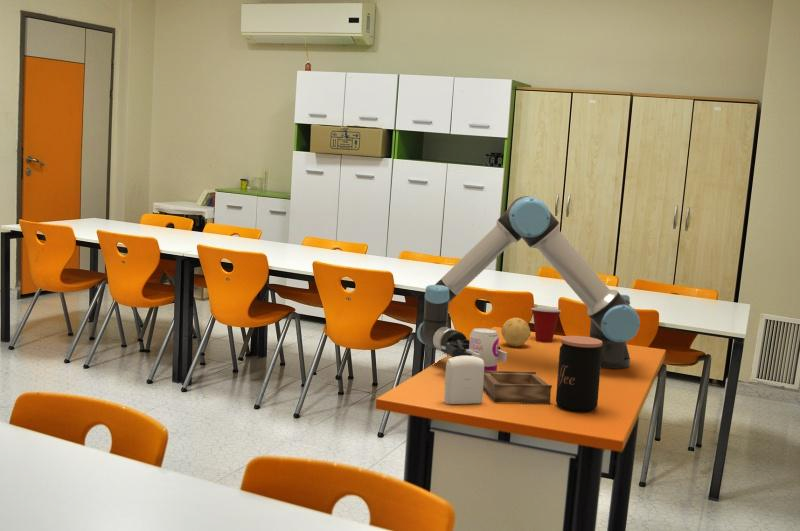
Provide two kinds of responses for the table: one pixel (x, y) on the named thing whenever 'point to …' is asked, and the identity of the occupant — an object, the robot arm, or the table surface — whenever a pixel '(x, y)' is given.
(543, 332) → the plastic cup
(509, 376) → the crate
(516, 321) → the stress ball
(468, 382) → the white rounded block
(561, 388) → the coffee jar
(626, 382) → the table surface
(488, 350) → the supplement can
